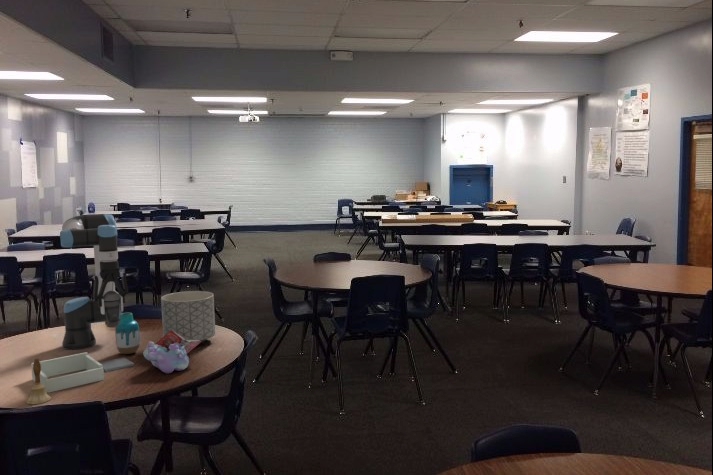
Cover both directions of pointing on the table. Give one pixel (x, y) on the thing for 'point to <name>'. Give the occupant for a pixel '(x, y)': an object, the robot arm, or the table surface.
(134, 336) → the vase
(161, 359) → the pastel lumpy cloud blob
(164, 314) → the planter
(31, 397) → the hand bell
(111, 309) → the beverage cup
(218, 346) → the table surface
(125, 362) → the slate tile
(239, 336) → the table surface
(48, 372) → the frame
